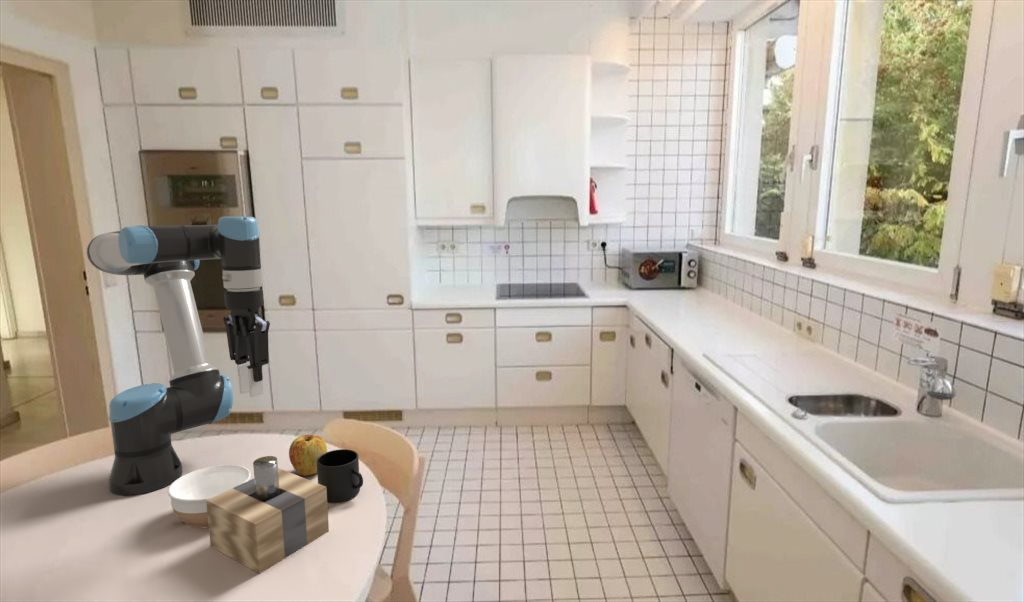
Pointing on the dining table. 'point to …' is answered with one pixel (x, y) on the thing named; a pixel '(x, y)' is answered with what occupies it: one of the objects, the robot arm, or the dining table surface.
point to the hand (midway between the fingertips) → (251, 393)
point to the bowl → (203, 491)
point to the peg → (266, 478)
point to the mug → (339, 474)
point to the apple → (306, 453)
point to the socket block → (267, 521)
